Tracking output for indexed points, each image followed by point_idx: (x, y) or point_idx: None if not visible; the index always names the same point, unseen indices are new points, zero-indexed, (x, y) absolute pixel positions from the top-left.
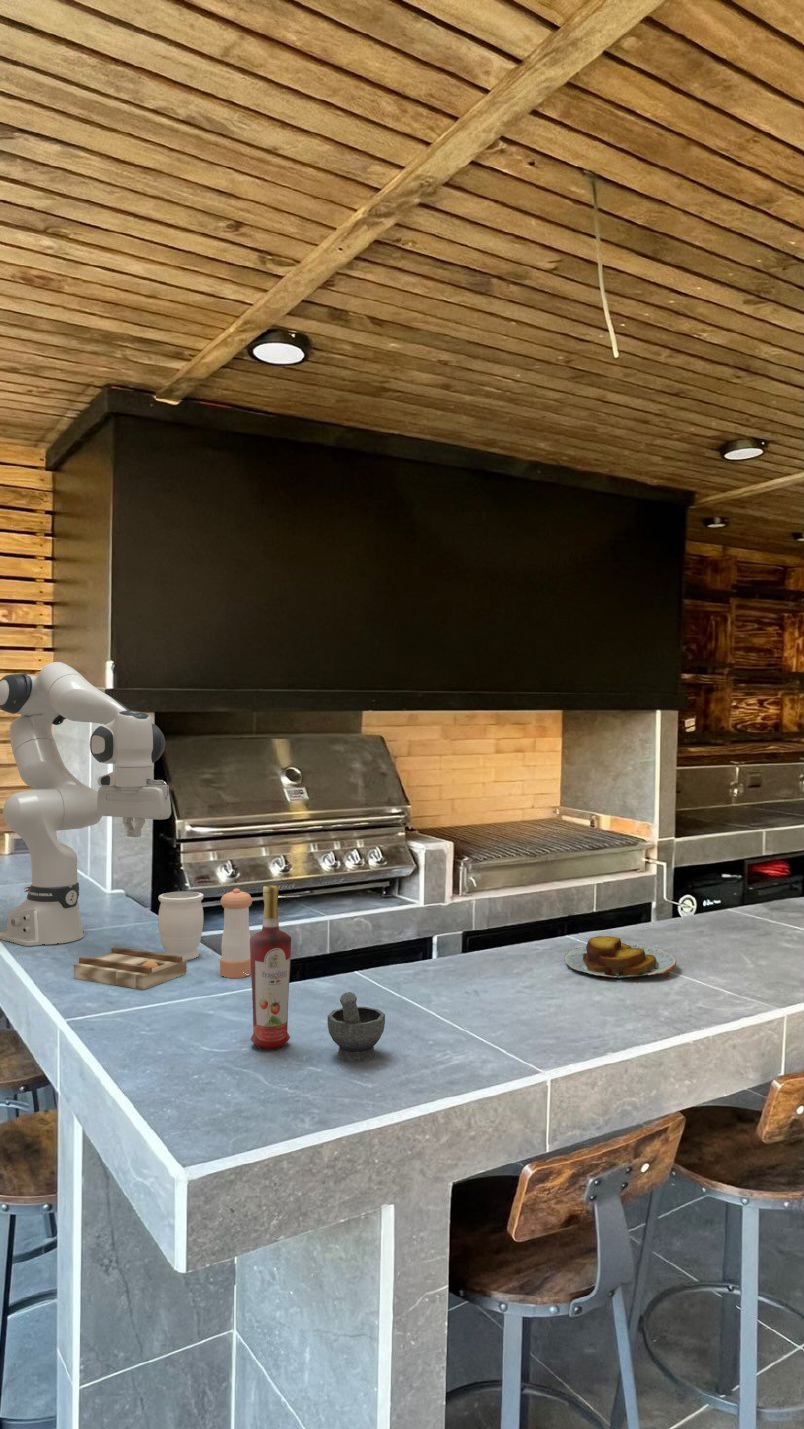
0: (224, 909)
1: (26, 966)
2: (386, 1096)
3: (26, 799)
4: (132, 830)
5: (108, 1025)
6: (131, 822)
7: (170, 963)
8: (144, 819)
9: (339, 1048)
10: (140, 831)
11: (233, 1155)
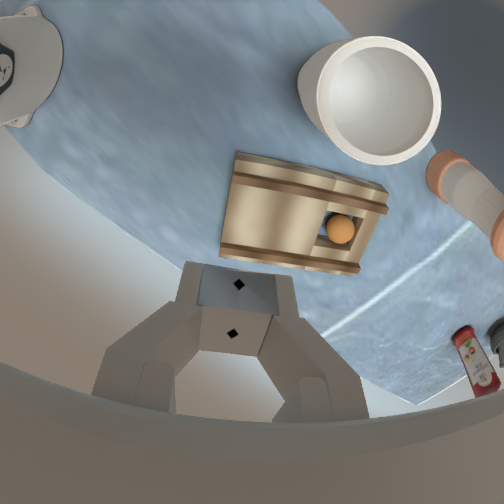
0: (489, 236)
1: (108, 214)
2: (490, 352)
3: None
4: (242, 349)
5: (349, 344)
6: (157, 350)
7: (369, 215)
8: (361, 406)
9: (491, 333)
10: (293, 304)
11: (431, 396)
